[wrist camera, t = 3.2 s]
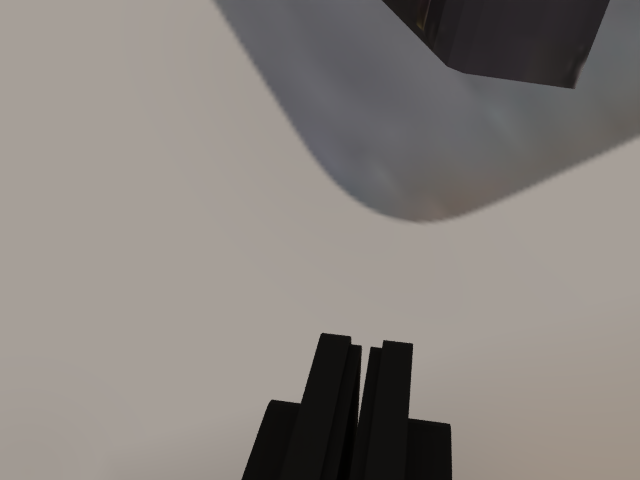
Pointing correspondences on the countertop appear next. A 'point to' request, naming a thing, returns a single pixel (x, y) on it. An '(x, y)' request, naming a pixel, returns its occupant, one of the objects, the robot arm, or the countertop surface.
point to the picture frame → (508, 36)
